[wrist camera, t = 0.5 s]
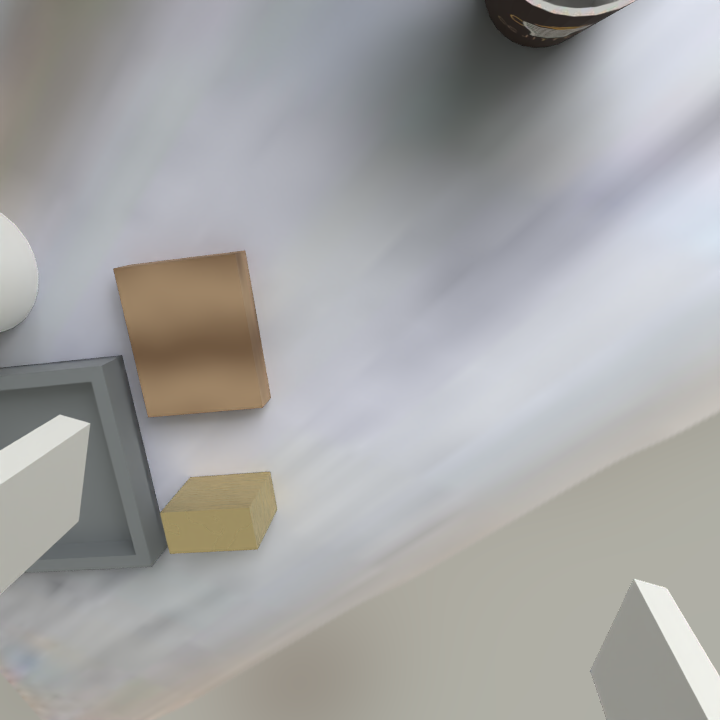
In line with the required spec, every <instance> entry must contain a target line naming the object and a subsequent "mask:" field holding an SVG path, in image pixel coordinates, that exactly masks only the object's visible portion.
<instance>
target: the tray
mask: <svg viewBox="0 0 720 720" xmlns="http://www.w3.org/2000/svg"><path fill="white" fill-rule="evenodd" d="M58 415H63V416H67V417H70V418H74V419H77V420H81V421H84V422H88V423H90V430H89V439H88V447H87V455H86V464H85V472H84V481H83V489H82V497H81V506H80V514H79V521H78V522H77V523H76V524H75V525H74V526H73V527H72V528H71V529H70V530H69V531H68V532H67V533H66V534H64V535H63V536H62V537H61V538H60V539H59V540H58V541H57V542H56V543H55V544H54V545H53V546H52V547H51V548H50V549H48V550H47V551H46V552H45V553H44V554H43V555H42V556H41V557H40V558H39V559H38V560H37V561H36V562H35V563H34V564H33V565H31V566H30V567H29V568H28V569H27V570H26V571H25V572H24V573H30V572H51V571H73V570H94V569H115V568H137V567H152V566H153V565H154V564H155V562H156V561H157V560H158V558H159V557H160V556H161V554H162V553H163V552H164V550H165V549H166V548H167V546H168V545H167V541H166V536H165V532H164V528H163V524H162V520H161V516H160V511H159V507H158V503H157V499H156V495H155V491H154V487H153V482H152V478H151V474H150V470H149V466H148V462H147V457H146V453H145V449H144V445H143V441H142V437H141V433H140V428H139V424H138V420H137V416H136V412H135V408H134V403H133V399H132V395H131V391H130V387H129V383H128V378H127V374H126V370H125V366H124V362H123V358H122V355H120V356H111V357H101V358H91V359H82V360H72V361H62V362H53V363H43V364H34V365H24V366H14V367H5V368H0V450H2V449H4V448H5V447H7V446H8V445H10V444H12V443H13V442H15V441H17V440H18V439H20V438H22V437H23V436H25V435H27V434H28V433H30V432H32V431H33V430H35V429H37V428H38V427H40V426H42V425H43V424H45V423H47V422H48V421H50V420H52V419H53V418H55V417H57V416H58Z"/></svg>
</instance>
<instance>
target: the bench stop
mask: <svg viewBox="0 0 720 720" xmlns="http://www.w3.org/2000/svg"><path fill="white" fill-rule="evenodd" d="M276 511H277V506H276V501H275V495H274V490H273V484H272V479H271V474H270V472H259V473H245V474H230V475H216V476H202V477H190V478H189V480H188V481H187V482H186V483H185V484H184V485H183V487H182V488H181V489H180V490H179V491H178V492H177V494H176V495H175V496H174V497H173V498H172V499H171V501H170V502H169V503H168V504H167V505H166V506H165V508H164V509H163V510H162V511H161V512H160V515H161V519H162V523H163V528H164V532H165V536H166V540H167V544H168V548H169V552H170V554H175V553H195V552H215V551H235V550H255V549H258V547H259V545H260V543H261V541H262V539H263V537H264V535H265V533H266V531H267V529H268V527H269V525H270V523H271V521H272V519H273V517H274V515H275V513H276Z"/></svg>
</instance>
